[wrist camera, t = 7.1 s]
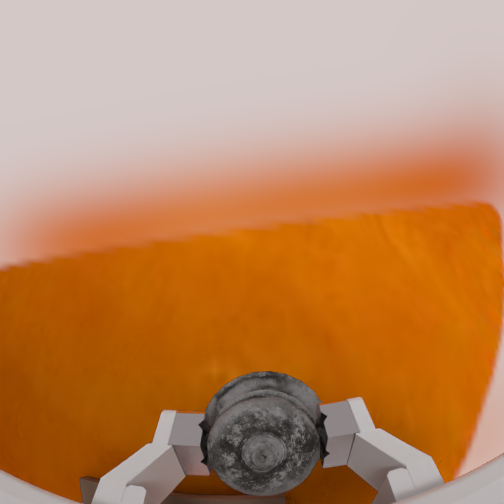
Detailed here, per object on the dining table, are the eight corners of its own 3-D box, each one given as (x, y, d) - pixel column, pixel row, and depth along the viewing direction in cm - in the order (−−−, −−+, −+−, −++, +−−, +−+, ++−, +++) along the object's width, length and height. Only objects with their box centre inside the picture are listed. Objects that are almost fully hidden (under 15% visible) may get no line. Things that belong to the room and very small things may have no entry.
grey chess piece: (219, 374, 17) (141, 309, 7) (319, 380, 16) (403, 322, 6) (210, 467, 14) (117, 542, 4) (313, 473, 14) (386, 561, 3)
